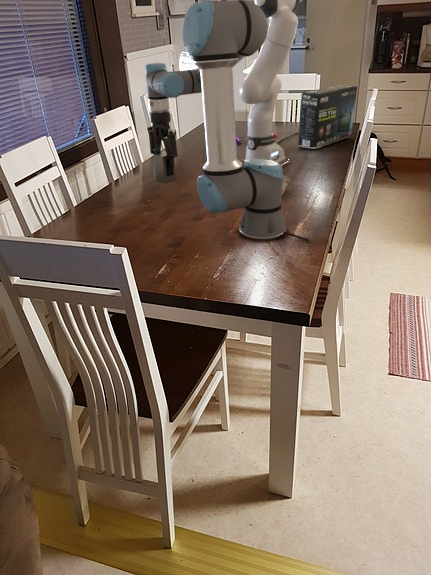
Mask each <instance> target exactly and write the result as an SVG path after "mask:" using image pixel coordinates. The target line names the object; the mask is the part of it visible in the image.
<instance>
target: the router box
mask: <svg viewBox="0 0 431 575" xmlns="http://www.w3.org/2000/svg"><path fill="white" fill-rule="evenodd" d="M357 93H358V86H356V85H350V84H339V85H338V84H337V85H334V86H328V87H324V88H318V89H314V90H309V91H304V92H301V93H300V109H299V110H300V111H299V124H298V131H299V133H298V137H297V146H298V145H302V146H307V147H317V146H320V145H323V144H325V143H328V142H331V141H333V140H336V139H338V138H341V137H344V136H347V135H351V136H352V133H353V132H352V131H353V125H354V115H355V109H356V99H357ZM311 151H313V150H312V149H311Z"/></svg>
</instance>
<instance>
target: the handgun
mask: <svg viewBox="0 0 431 575" xmlns="http://www.w3.org/2000/svg"><path fill="white" fill-rule="evenodd" d="M236 139H237V141H238V142H242V143H238V142H237V141H236V142H237V143H238V145H242V144H243V141H242V140H241V139H240V138H239V137H238V136H236Z"/></svg>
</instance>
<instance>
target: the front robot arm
mask: <svg viewBox="0 0 431 575" xmlns="http://www.w3.org/2000/svg"><path fill="white" fill-rule="evenodd" d="M185 15H186V16H185ZM185 15H184V20H183V25H182V42H183V46H184V51H186V52H187V53H188V54H189V55H191V56H193V59H194V64H195V65H196V66H197V67H198V68H197V69H193V70H184V71H180V70H174V71H173V70H172V71H168V68H167V65H166V63H164V62H155V63H153V62H152V63H147V64H145V66H144V78H145V85H146V93H147V102H148V110H149V111H150V112H149V113H148V114H149V121H150V124H151V126H148V127H147V128H146V130H147V133H148V140H149V151H150V154H151V155H153V156H154V155H155V154H158V153H161V152H162V143H163V146H164V151H165V152H166V154H167V158H166V164H167V175H168V176H172V175H174V168H173V167H174V159H175V158H178V149H177V148H178V145H177V130H176V129H172V128H171V125H170V123H171V121H172V118H171V111H170V110H171V104H170V99H175V98H178V97H180V96H187V95H193V94H195V95H196V94H201V96H202V97H201V98H202V110H203V124H204V134H205V148H206V158H207V159H206V162H205V163H204V164H203V166H202V174H200V175H198V177H197V179H196V191H197V194H198V197H199V200H200V202H201V204H202V205H203V207H204V208H205V209H206V210H207V211H208V212H209V213H211V214H219V213H227V212H230V211H234V210H238V209H242V208H243V209H244V211H243V213H242V216H241V220H240V221H239V224H238V225H239V226H238V232H239V235H240V236H241V237H242V238H244V239H247V240H250V241H254V242H271V241H277V240H279V239H281V238H283V237H285V235H287V236H289V237H294V238H296V239H300V240H303V241H306V242H309V238H307V237H305V236H301V235H299V234H295V233H291V232H288V231H287V223H286V221H285V216H284V214H283V210H282V200H283V194H282V180H283V176H284V172H283V171H284V169H283V166H281V165H280V164H279V163H277V162H275V161H271V160H266V159H248V160H246V161H245V163H244V162H241V160H239V159H238V150H237V141H236V137H237V131H236V130H237V129H236V128H237V127H236V112H235V110H236V109H235V94H234V92H235V91H234V90H235V89H234V74H233V73H234V71H233V68H234V67H236V66H237V65H238V64H239V63H240V62H241V61H242V60H243V59H244V58H246V57H251V56H252V55H254V54H255V53H257V51H259V49H261V48H262V45H263V43H264V42H265V39H266V36H267V32H268V29H269V26H268V25H269V24H268V18H266V16H265V14H264V13H263V11H262V9H261V8H260V7H259V6H258V5H256V4H255V3H253V2H251V1H247V0H238V1H220V0H205V1H197V2H194V3H192V4H191V5H190V6H189V8H188V9H187V11H186V14H185ZM244 166H245V167H244Z"/></svg>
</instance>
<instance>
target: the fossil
mask: <svg viewBox="0 0 431 575" xmlns="http://www.w3.org/2000/svg"><path fill="white" fill-rule="evenodd" d="M290 185H291V180H290V178H289V176H286V175H283V180H282V195H284V194H285V192H286V190H287V189H288V186H290Z"/></svg>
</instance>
